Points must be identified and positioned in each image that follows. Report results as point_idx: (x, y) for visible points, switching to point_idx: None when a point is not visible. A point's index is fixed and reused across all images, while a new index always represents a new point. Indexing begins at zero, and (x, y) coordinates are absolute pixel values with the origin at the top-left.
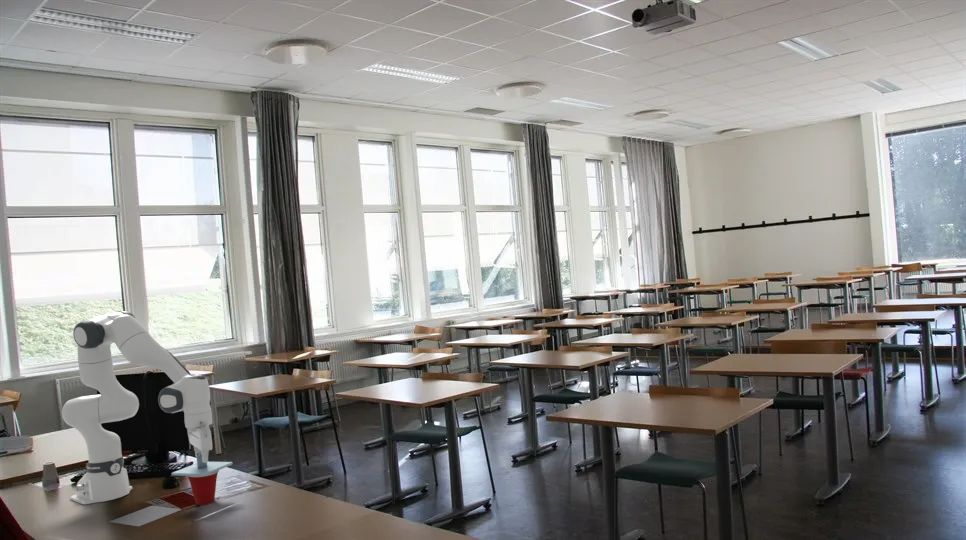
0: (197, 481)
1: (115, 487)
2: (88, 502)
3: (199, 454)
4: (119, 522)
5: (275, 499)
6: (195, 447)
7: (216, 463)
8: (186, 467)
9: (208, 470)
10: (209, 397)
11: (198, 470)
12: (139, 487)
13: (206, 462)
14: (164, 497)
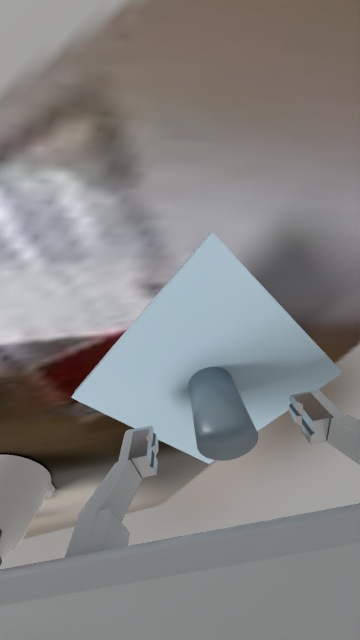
0: None
1: (19, 489)
2: (52, 490)
3: (151, 452)
4: None
5: (320, 79)
6: (127, 534)
7: (174, 328)
8: (157, 435)
9: (297, 358)
10: None
11: (255, 394)
12: None
13: (228, 385)
14: (71, 398)
